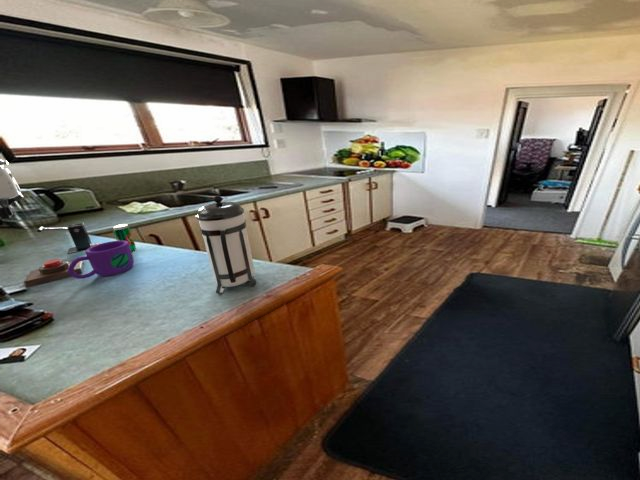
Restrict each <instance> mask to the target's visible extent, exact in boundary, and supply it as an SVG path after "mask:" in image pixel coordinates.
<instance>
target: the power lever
mask: <svg viewBox="0 0 640 480" xmlns="http://www.w3.org/2000/svg"><path fill="white" fill-rule="evenodd" d="M47 231H48V232H50V231H51V232H52V231H53V232H54V231H69V230H68V227H44V226H39V227H38V229H37V230H36V232H38V233H42V232H47Z"/></svg>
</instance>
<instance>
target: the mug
mask: <svg viewBox="0 0 640 480" xmlns="http://www.w3.org/2000/svg"><path fill="white" fill-rule="evenodd" d="M84 252H85V255H84V256H79V257H78V256H77V257H76V258H74V259H73V260H71V261H70V262H71V264H70V265H69V267H68V273H69V274H70V275H71V276H70V277H72V278H74V279H77V280H82V279H88V278H91V277H93V276H94V275H97V276H100V277H109V276H115V275H118V274H122V273H125V272H126V271H128V270H130V269H132V267H133V266H134V264H135V260H134V256H133V252H131V249H130V246H129V243H128V242H127V241H117V240H112V241H106V242H103V243H102V242H101V244H98V245H95V246H93V247H90V248H88V249H87V250H85V251H84ZM82 260H83V261H89V264H90V266H91V268H92V269H93V270H91V271H90V272H88V273H84V274H77V273H76V272H74V268H75V266H76V264H77V263H78V262H79V261H82Z"/></svg>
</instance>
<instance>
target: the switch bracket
mask: <svg viewBox="0 0 640 480" xmlns="http://www.w3.org/2000/svg"><path fill="white" fill-rule="evenodd" d="M67 228H68V230H67V231H68V232H69V234H70V237H71V240H72V242H73V244H74V246H73V247H69V248H68V251H67V255H71V254H75V253H80V252H85V251H86V250H87V249H88V248H90V247H93V246H95V245H98V244H102V242H101V241H98V242H92V241H91V238H90V235H89V233H88V230H87V227H86V226H85V223H84V222H79V223H73V224H68V226H67Z"/></svg>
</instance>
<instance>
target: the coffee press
mask: <svg viewBox="0 0 640 480" xmlns="http://www.w3.org/2000/svg"><path fill="white" fill-rule="evenodd" d="M244 213H245V209H244V207H243V206H242V205H241V204H240V203H238V202H234V201H223V197H222V196H221V195H215V196H214V197H213V203H208V204H205V205H204V206H202V207H200V208H199V209H198V211H197V214H196V215H195V218H196V220H197V221H198V222H199V230H200V234H201V235H202V238H203V242H204V246H205V250H206V253H207V258H208V261H209V262H208V263H209V265H210V269H211V273H212V277H213V280H214V283H215V284H216V285H217V286H216V290H215V294H217V295H223V293H224V291H225V289H226V288H232V287H236V286H240V285H243V284H245V283H246V284H247V285H249V286H250V287H253V286H255V285H257V282H256V280H255V279H254V278H253V277H254V276H255V273H256V271H255V267H254V266H255V265H254V260H253V256H252V250H251V245H250V240H249V234H248V230H247V225H248V224H247V221H246V219H245V215H244Z"/></svg>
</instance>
